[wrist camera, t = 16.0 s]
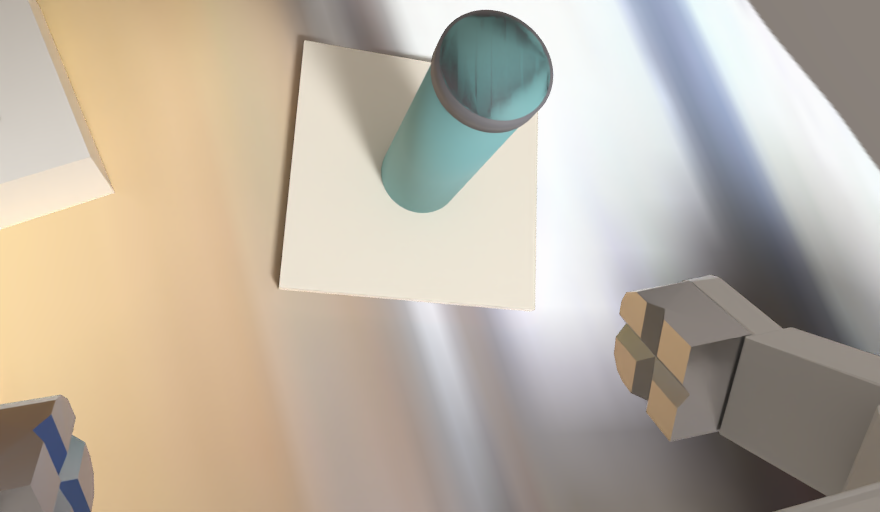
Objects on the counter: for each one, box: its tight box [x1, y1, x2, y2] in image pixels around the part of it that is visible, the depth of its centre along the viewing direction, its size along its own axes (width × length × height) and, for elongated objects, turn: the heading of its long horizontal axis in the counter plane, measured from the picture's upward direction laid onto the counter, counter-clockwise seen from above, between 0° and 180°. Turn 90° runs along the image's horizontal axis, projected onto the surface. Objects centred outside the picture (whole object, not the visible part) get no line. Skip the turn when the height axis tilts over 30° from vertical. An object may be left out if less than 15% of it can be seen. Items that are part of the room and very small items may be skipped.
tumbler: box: [381, 10, 553, 213], centre depth 27 cm, size 4×4×11 cm
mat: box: [279, 40, 538, 311], centre depth 33 cm, size 12×12×1 cm
